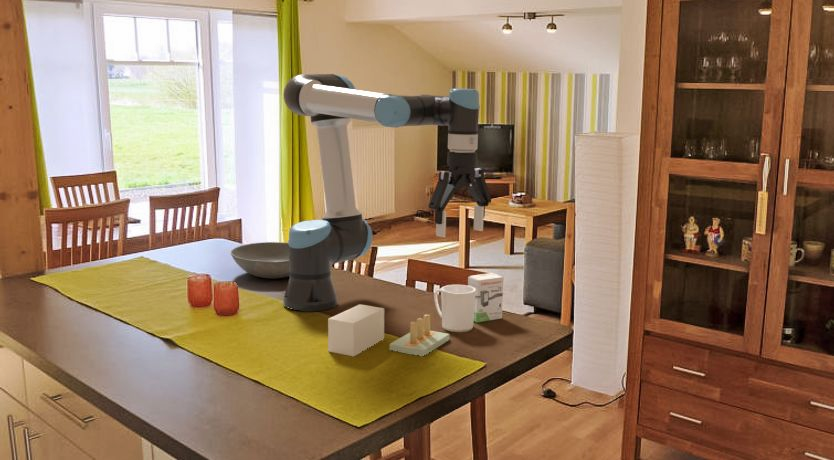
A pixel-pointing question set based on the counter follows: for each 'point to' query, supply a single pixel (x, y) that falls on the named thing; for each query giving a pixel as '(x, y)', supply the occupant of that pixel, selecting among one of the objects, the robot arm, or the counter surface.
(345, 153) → the robot arm
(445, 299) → the mug
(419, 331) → the header block
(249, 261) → the bowl
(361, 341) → the white rectangular block
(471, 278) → the ink box
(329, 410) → the counter surface
